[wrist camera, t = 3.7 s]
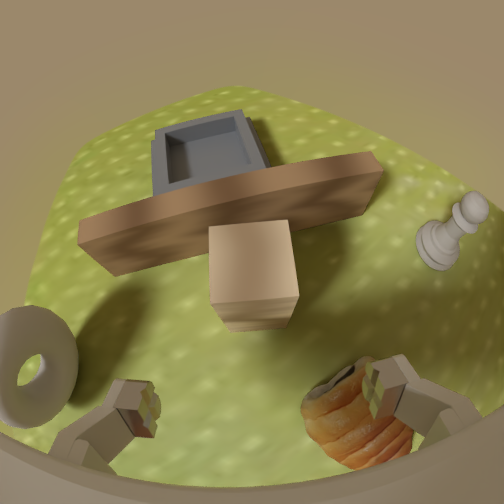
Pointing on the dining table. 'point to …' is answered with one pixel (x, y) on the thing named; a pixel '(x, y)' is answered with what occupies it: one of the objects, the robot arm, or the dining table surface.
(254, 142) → the seat block
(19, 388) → the donut
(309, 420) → the pastry
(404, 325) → the dining table surface
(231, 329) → the block
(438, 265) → the chess piece
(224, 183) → the door edge
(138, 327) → the dining table surface
